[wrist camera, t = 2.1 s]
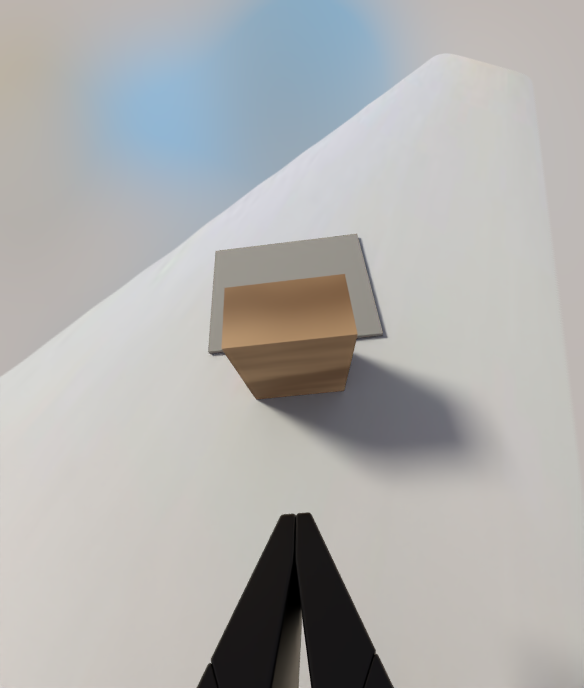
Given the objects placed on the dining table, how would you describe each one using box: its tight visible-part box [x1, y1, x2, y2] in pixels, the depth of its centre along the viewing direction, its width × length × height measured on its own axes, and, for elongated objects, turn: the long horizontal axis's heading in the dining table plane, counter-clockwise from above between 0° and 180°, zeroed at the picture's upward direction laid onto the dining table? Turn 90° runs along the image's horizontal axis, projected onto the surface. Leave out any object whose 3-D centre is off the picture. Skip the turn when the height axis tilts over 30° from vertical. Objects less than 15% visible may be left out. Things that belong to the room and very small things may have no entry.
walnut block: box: [221, 274, 358, 399], centre depth 19 cm, size 4×7×9 cm, turn 94°
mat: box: [208, 234, 383, 354], centre depth 27 cm, size 12×15×1 cm
